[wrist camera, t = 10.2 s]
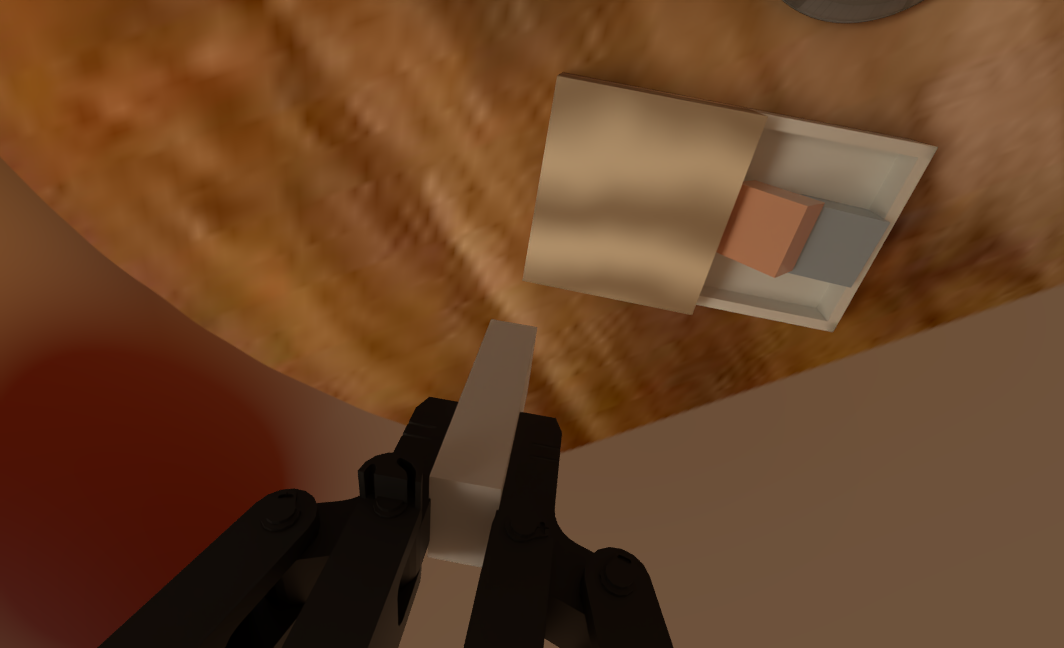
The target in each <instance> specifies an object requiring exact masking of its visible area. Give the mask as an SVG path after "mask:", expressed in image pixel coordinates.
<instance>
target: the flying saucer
mask: <svg viewBox="0 0 1064 648" xmlns="http://www.w3.org/2000/svg"><path fill="white" fill-rule="evenodd" d="M783 1H784V2H785V3H786V4H788V5H789V6H790V7H792V8H793V9H795V10H797V11H798V12H800V13H802V14H804V15H807V16H809V17H812V18H815V19H818V20H822V21H827V22H834V23H858V22H866V21H871V20H876V19H880V18H884V17H887V16H890V15H893V14H896V13H898V12H901V11H903V10H906V9H908V8H910V7H912V6H914V5H916V4H918V3H920V2H922V1H923V0H783Z"/></svg>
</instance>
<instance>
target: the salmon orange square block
mask: <svg viewBox="0 0 1064 648" xmlns="http://www.w3.org/2000/svg"><path fill="white" fill-rule="evenodd" d="M824 204H825V203H824V202H821V201H818V200H815V199H812V198H809V197H806V196H803V195H800V194H797V193H794V192H790V191H787V190H784V189H781V188H778V187H775V186H772V185H769V184H766V183H763V182H760V181H757V180H751V181H743V183H742V186H741V189H740V191H739V194H738V196H737V199H736V202H735V204H734V207H733V209H732V212H731V215H730V217H729V220H728V222H727V225H726V228H725V230H724V233H723V235H722V238H721V241H720V243H719V246H718V248H717V251H716V252H717V253H719V254H721V255H724V256H726V257H728V258H730V259H733V260H735V261H737V262H739V263H742V264H744V265H746V266H748V267H751V268H753V269H755V270H758V271H760V272H762V273H764V274H767V275H769V276H771V277H773V278H776V277H778V276H781V275H783V274H785V273H788V272H790V271H792V270H793V268H794V266H795V264H796V262H797V260H798V258H799V256H800V253H801V251H802V249H803V247H804V245H805V243H806V241H807V239H808V237H809V235H810V233H811V231H812V229H813V227H814V224H815V222H816V220H817V218H818V216H819V214H820V212H821V210H822V208H823V206H824Z"/></svg>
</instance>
